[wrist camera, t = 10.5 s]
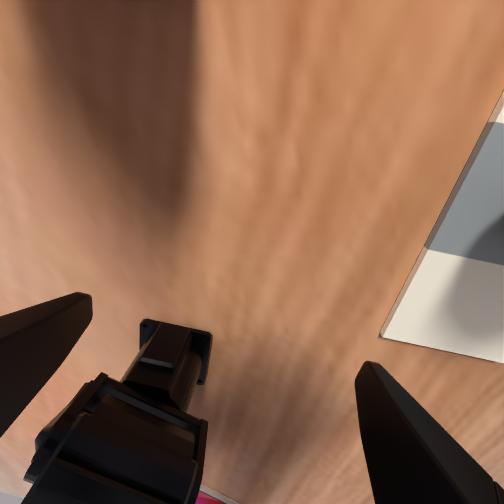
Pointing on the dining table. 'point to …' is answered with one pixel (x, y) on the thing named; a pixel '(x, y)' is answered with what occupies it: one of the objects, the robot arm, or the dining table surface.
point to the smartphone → (212, 497)
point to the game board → (461, 263)
